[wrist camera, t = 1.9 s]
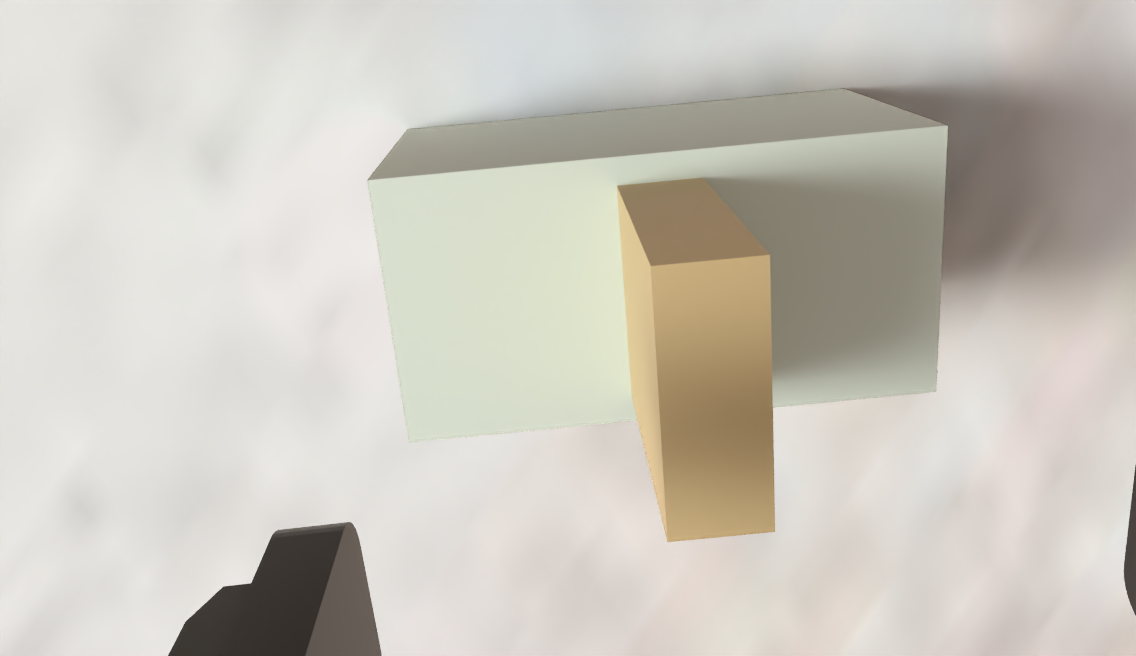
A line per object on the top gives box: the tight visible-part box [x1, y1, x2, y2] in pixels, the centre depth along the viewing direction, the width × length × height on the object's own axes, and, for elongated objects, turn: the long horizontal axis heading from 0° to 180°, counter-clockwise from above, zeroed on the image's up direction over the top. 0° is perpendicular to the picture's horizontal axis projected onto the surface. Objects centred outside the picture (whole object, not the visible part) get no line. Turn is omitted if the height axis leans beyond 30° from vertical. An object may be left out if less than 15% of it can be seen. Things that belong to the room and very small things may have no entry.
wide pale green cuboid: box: [367, 88, 948, 542], centre depth 18 cm, size 10×5×11 cm, turn 95°
